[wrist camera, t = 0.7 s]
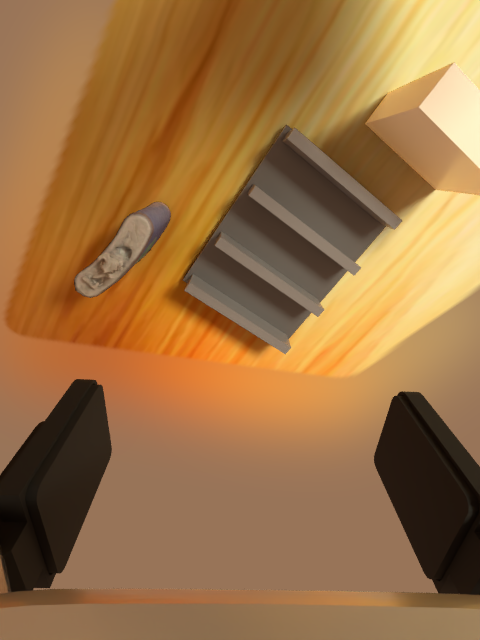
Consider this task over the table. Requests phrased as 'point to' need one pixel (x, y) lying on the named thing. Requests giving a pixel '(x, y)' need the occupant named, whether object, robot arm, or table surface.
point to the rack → (287, 241)
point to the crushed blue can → (124, 249)
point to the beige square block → (435, 128)
